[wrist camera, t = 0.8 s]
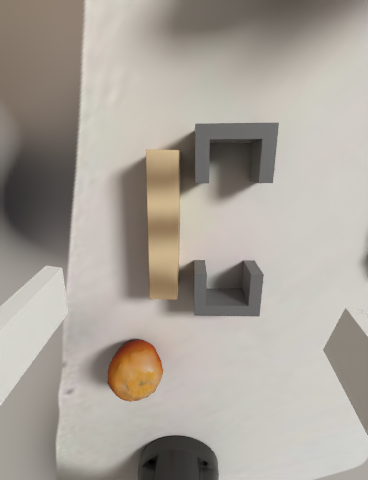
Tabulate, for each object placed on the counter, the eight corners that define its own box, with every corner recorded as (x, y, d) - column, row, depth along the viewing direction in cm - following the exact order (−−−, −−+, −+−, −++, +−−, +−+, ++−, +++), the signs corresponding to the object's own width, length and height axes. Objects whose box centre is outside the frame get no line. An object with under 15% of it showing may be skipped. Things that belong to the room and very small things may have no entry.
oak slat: (179, 281, 35) (177, 299, 31) (155, 280, 35) (149, 298, 31) (180, 152, 30) (178, 149, 25) (153, 152, 30) (145, 149, 25)
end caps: (251, 298, 35) (259, 316, 31) (193, 297, 36) (194, 315, 31) (265, 129, 29) (278, 122, 24) (195, 130, 29) (195, 123, 25)
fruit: (94, 347, 37) (103, 379, 30) (140, 321, 40) (158, 346, 33) (112, 386, 39) (124, 424, 32) (155, 359, 43) (174, 389, 36)
